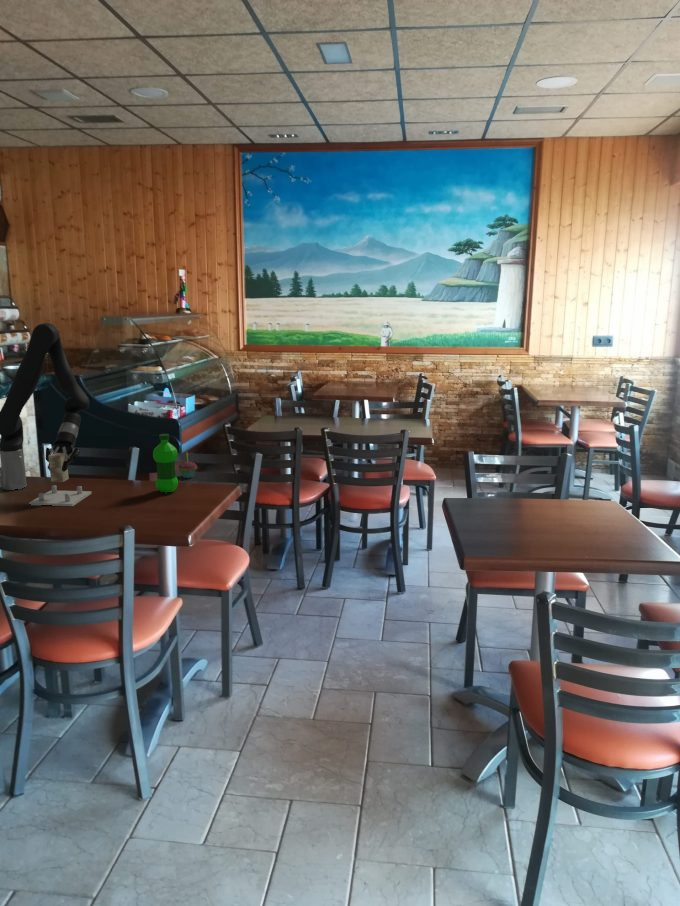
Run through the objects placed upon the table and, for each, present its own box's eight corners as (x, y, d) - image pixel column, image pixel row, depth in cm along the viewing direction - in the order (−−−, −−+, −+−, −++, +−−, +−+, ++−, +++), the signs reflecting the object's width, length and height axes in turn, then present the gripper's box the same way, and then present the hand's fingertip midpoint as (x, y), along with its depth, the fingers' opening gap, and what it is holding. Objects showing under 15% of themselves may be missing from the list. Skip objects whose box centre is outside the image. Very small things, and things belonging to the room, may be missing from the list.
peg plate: (29, 505, 274) (28, 495, 273) (50, 492, 292) (49, 483, 291) (72, 506, 273) (71, 496, 272) (91, 493, 290) (90, 484, 289)
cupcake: (178, 475, 321) (177, 450, 318) (196, 473, 324) (195, 449, 321) (179, 479, 313) (178, 454, 310) (198, 478, 316) (197, 453, 313)
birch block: (51, 481, 278) (48, 455, 276) (57, 478, 283) (54, 452, 280) (63, 481, 278) (60, 455, 275) (68, 478, 283) (65, 452, 280)
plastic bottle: (159, 487, 299) (156, 432, 294) (182, 488, 298) (180, 432, 293) (151, 494, 290) (147, 436, 284) (175, 495, 289) (172, 437, 283)
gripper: (47, 430, 284) (35, 465, 275) (80, 430, 283) (70, 466, 274) (54, 440, 290) (43, 474, 281) (87, 440, 289) (77, 475, 280)
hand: (56, 470), depth 277 cm, fingers closed on birch block, 5 cm apart
